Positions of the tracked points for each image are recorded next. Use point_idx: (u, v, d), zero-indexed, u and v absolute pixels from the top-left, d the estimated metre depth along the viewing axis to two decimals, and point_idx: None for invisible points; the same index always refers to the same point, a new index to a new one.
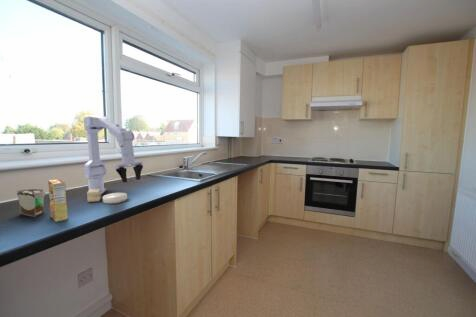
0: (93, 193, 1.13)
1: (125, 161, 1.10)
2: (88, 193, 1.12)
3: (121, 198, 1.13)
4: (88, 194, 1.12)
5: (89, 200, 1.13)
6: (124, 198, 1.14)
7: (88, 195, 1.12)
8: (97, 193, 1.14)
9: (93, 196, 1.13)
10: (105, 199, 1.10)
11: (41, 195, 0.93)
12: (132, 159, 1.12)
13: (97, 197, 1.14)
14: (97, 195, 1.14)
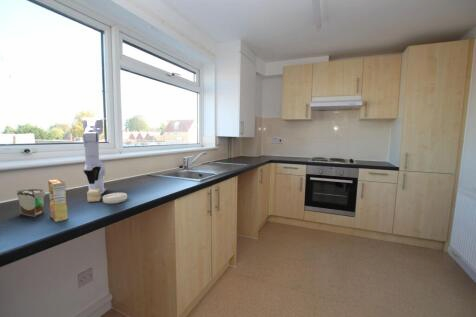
0: (93, 193, 1.13)
1: (93, 163, 1.11)
2: (88, 193, 1.12)
3: (121, 198, 1.13)
4: (88, 194, 1.12)
5: (89, 200, 1.13)
6: (124, 198, 1.14)
7: (88, 195, 1.12)
8: (97, 193, 1.14)
9: (93, 196, 1.13)
10: (105, 199, 1.10)
11: (41, 195, 0.93)
12: (98, 161, 1.14)
13: (97, 197, 1.14)
14: (97, 195, 1.14)
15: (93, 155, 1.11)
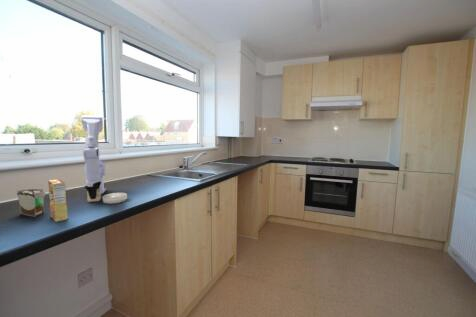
0: None
1: (94, 178, 1.12)
2: (88, 193, 1.12)
3: (121, 198, 1.13)
4: (88, 194, 1.12)
5: (89, 200, 1.13)
6: (124, 198, 1.14)
7: (88, 195, 1.12)
8: (97, 193, 1.14)
9: None
10: (105, 199, 1.10)
11: (41, 195, 0.93)
12: (99, 176, 1.15)
13: (97, 197, 1.14)
14: (97, 195, 1.14)
15: (94, 171, 1.12)
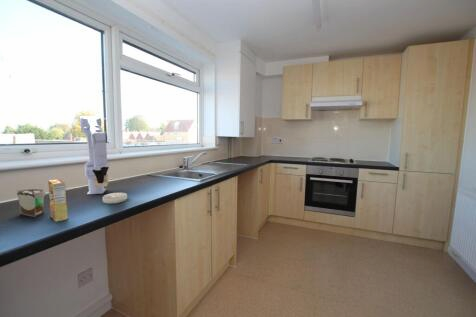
0: None
1: (102, 163, 1.11)
2: (95, 178, 1.11)
3: (121, 198, 1.13)
4: (96, 179, 1.11)
5: (96, 185, 1.12)
6: (124, 198, 1.14)
7: (95, 180, 1.11)
8: (104, 178, 1.12)
9: None
10: (105, 199, 1.10)
11: (41, 195, 0.93)
12: (106, 161, 1.14)
13: (104, 182, 1.13)
14: (104, 180, 1.13)
15: (103, 155, 1.11)
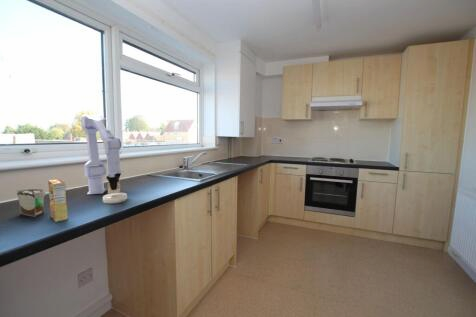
0: None
1: (115, 169, 1.12)
2: (108, 185, 1.12)
3: (121, 198, 1.13)
4: (109, 186, 1.12)
5: (109, 192, 1.12)
6: (124, 198, 1.14)
7: (108, 186, 1.12)
8: (117, 185, 1.13)
9: None
10: (105, 199, 1.10)
11: (41, 195, 0.93)
12: (119, 167, 1.15)
13: (117, 189, 1.13)
14: (117, 187, 1.13)
15: (117, 161, 1.12)
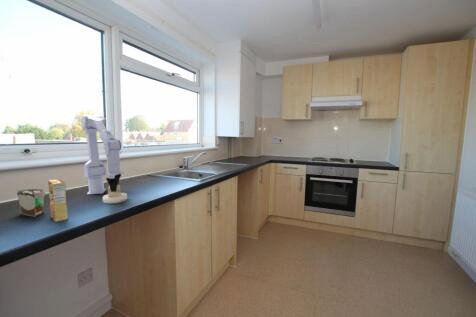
0: None
1: (115, 170, 1.12)
2: (109, 188, 1.12)
3: (121, 198, 1.13)
4: (109, 190, 1.12)
5: (110, 195, 1.12)
6: (124, 198, 1.14)
7: (108, 190, 1.12)
8: (118, 188, 1.13)
9: None
10: (105, 199, 1.10)
11: (41, 195, 0.93)
12: (119, 168, 1.15)
13: (117, 192, 1.13)
14: (118, 190, 1.13)
15: (117, 163, 1.12)
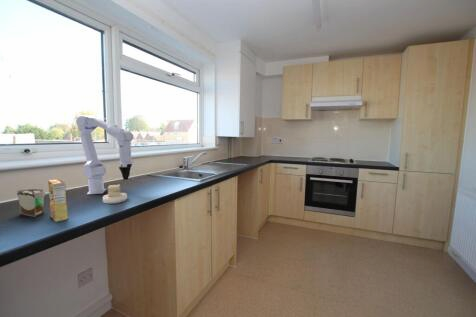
0: (114, 188, 1.13)
1: (127, 160, 1.20)
2: (109, 188, 1.12)
3: (121, 198, 1.13)
4: (109, 190, 1.12)
5: (110, 195, 1.12)
6: (124, 198, 1.14)
7: (108, 190, 1.12)
8: (118, 188, 1.13)
9: (114, 191, 1.13)
10: (105, 199, 1.10)
11: (41, 195, 0.93)
12: None
13: (117, 192, 1.13)
14: (118, 190, 1.13)
15: (130, 152, 1.21)
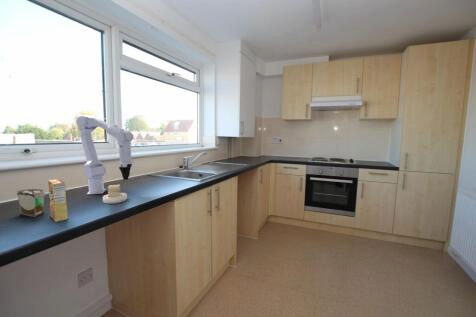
0: (114, 188, 1.13)
1: (127, 160, 1.20)
2: (109, 188, 1.12)
3: (121, 198, 1.13)
4: (109, 190, 1.12)
5: (110, 195, 1.12)
6: (124, 198, 1.14)
7: (108, 190, 1.12)
8: (118, 188, 1.13)
9: (114, 191, 1.13)
10: (105, 199, 1.10)
11: (41, 195, 0.93)
12: None
13: (117, 192, 1.13)
14: (117, 190, 1.13)
15: (130, 152, 1.21)
